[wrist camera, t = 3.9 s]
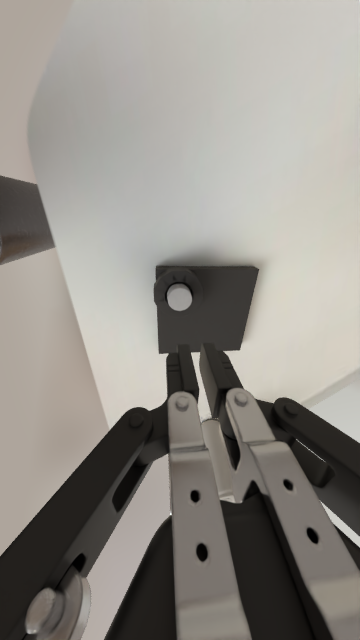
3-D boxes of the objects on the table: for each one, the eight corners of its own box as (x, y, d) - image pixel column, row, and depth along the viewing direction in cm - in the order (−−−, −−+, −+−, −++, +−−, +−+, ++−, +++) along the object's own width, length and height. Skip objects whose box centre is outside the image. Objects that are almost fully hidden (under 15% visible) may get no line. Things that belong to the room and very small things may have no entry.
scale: (157, 347, 28) (157, 361, 25) (153, 264, 22) (152, 270, 19) (236, 344, 29) (244, 357, 26) (254, 264, 23) (266, 271, 20)
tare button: (167, 305, 21) (167, 311, 20) (167, 283, 20) (167, 288, 19) (189, 304, 22) (191, 310, 20) (190, 283, 20) (192, 288, 19)
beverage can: (202, 434, 40) (217, 510, 30) (195, 423, 38) (208, 501, 28) (223, 427, 40) (246, 502, 30) (217, 415, 38) (239, 492, 27)
